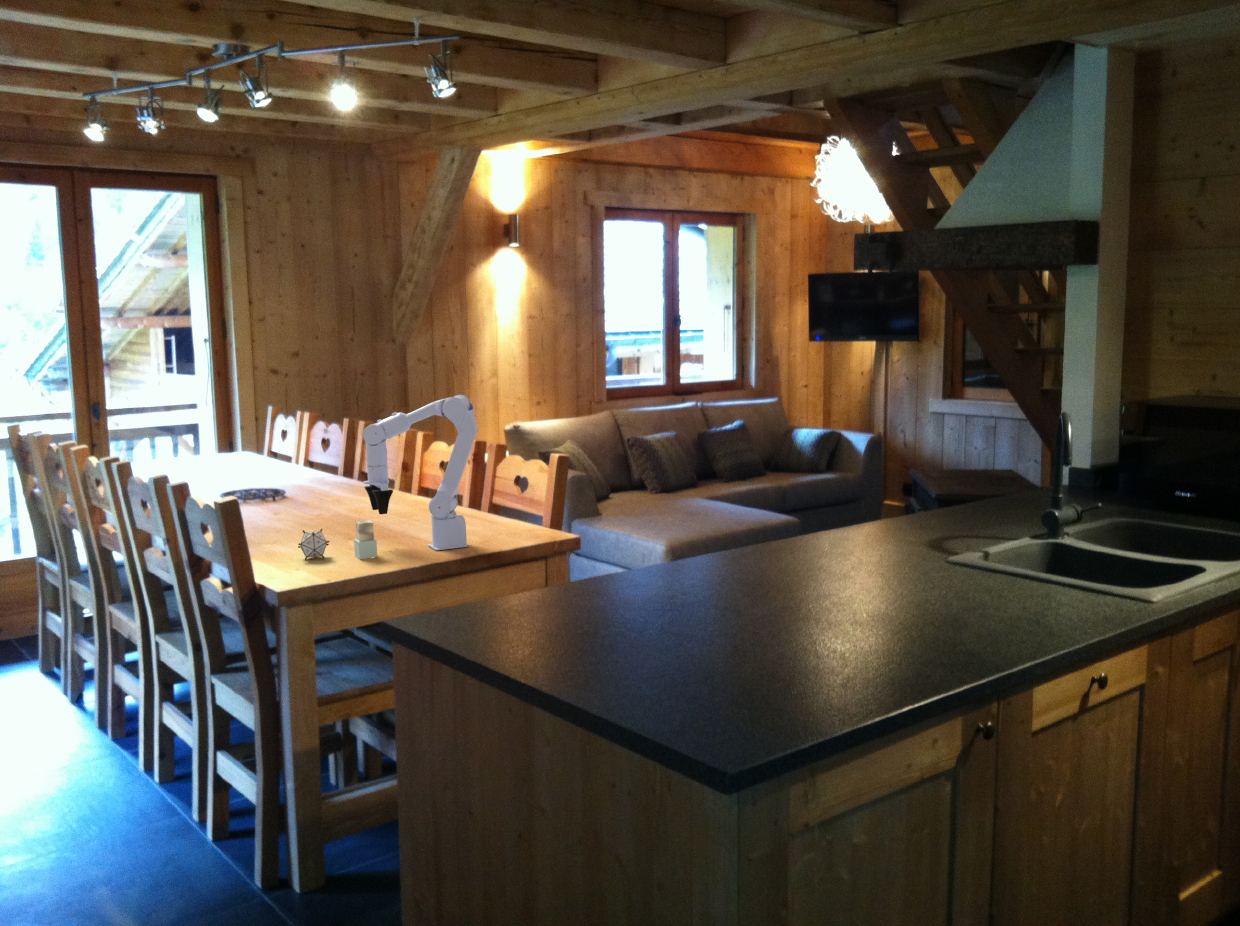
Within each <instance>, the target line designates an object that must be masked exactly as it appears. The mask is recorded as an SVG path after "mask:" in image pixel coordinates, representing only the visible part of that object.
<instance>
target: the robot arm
mask: <svg viewBox="0 0 1240 926" xmlns="http://www.w3.org/2000/svg"><path fill="white" fill-rule="evenodd" d="M475 414H476V413H475V406H474V404H473V403H472V402H471V400H470V399H469V397H468V396H467V395H464V394H457V395H456V394H455V395H454V396H450V397H447V398H442V399H439V400H435V401H433V402H430V403H428V404H426V405H424V406H422V407H420V408H418V409H415V410H414V411H411V412H409V413H404V412H401V411H400V412H397V411H394V412H393V413H391V415H390V416H389V417H386V418H384V419H382V418H381V419H378V420H376V423H372V424H368V426H366V427H365V428H364V429H363V431H362V438H363V440H364V442H365V446H366V447H365V448H366V451H365V452H366V468H367V469H366V470H367V471H366V472H367V480H364V481H363V484H364V485H365V486H364V487H363V488H364V489H365V491H366V493H367V495H368V498H369V501H370V506H371V510H372V511H377V510H378V514H379V515H386V514H388V511H389V504H390V500H391V497H392V495H393V493H394V490H393V489H389V483H390V480H389V471H388V455H387V454H388V451H387V440H390V439H392V438H394V437H396V436H399V435H402V434H404V433H406V432H408V431H409V430H410V429H411V426H412V425H413V424H414V423H417V422H420V421H423V420H425V419H428V418H430V417H433V416H438V417H443V416H445V417H446V419H448V420H449V421H450V422H451V423H452V424H453V425H454V427H455V429H456V430H457V432H458V433H457V435H456V439H455V442H454V444H453V445H454V446H453V448H452V452H451V453H450V457H449V460H448V464H447V466H446V469H445V471H444V474H443V478H442V479H441V482H440V485H439V487H438V488H437V491H436V493H435V496H434V497H432V498H431V499H430V501H429V503H428V510H429V512H430V514H431V516H430V517H431V535H432V536H431V537H432V543H428V547H430V548H432V549H433V550H434V551H445V550H451V549H458V548H467V547H468V542H467V540H468V539H467V523H466V519H465V517H464V515H461V514H457V512H456V511H455V510H456V508H457V507H458V503H459V502H458V494H459V491H460V489H459V486H460V483H461V480H462V477H463V474H464V471H465V468H466V466H467V464H468V463H467V462H468V461H469V460H468V459H469V457H470V454H471V450H472V449H473V445H474V442H475V439H476V436H477V433H478V427H479V426H478V424H477V419H476V415H475Z"/></svg>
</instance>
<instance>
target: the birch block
mask: <svg viewBox="0 0 1240 926" xmlns="http://www.w3.org/2000/svg"><path fill="white" fill-rule="evenodd" d="M374 531H375V530H374V521H372V520H371V519H366V520H357V521H355V536H356V539H357V540H358V541H359V542H361V541H371V540H374V539H375V535H374Z"/></svg>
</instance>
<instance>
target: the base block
mask: <svg viewBox="0 0 1240 926" xmlns="http://www.w3.org/2000/svg"><path fill="white" fill-rule="evenodd" d="M353 540H354V542H353V543H354V557H355V558H357V559H358V560H359V559H362V560H367V559H366V558H370V559H373V558H372V557H377V558H378V546H377V544H378V543H377V539H375V538H374V540H371V541H361V542H359V541H358V540H357V538H353Z"/></svg>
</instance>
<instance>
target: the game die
mask: <svg viewBox="0 0 1240 926" xmlns="http://www.w3.org/2000/svg"><path fill="white" fill-rule="evenodd" d="M322 532H323V528H321V529H320V531H319V530H317V531H316V530H315V531H305V530H304V529H303V530H302V533H303V536H302V538H301V542H299V543H298V544H297V545H298V546H297V548H298V549H301V551H302V552H303V554H304V556H305V557H304V561H306V560H307V559H308V558H309V559H310V558H317V557H319V558H320V557H322V559H324V558H325V555H324V554H325V551H326V548H327V546H329V543H330V540H327V539H326V538H325V536H324V534H323V533H322Z"/></svg>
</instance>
